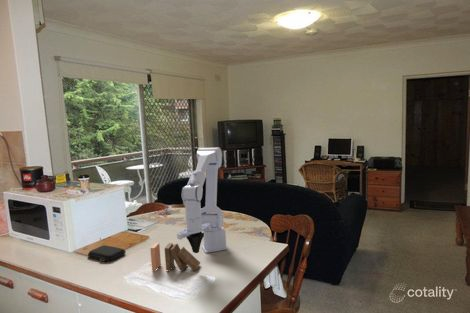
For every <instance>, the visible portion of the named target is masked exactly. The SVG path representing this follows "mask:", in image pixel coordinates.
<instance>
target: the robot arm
mask: <svg viewBox="0 0 470 313" xmlns="http://www.w3.org/2000/svg"><path fill="white" fill-rule="evenodd" d="M196 159H197V165H196V168H195V170H193V171H192V172H191V174H190V177H189V179H188V182H187V184H186V185H184V186H183V187H182V189H181V199H182V203H183V206H184V210H185V226H186V227H185V229H183V230H181V231H180V232H178V233H176V238H177V239H178V240H180V241H181V240H183V239H184V238H186V239H187V241H188V243H189V244H190V247H191V250H192V253H193V254H198V253H199V252H200V248H201V249H203V251H204V253H205V254H208V253H212V252H218V251H225V250H228V248H227V236H226V230H225V228H224V225H223V224H224V217H223V215H224V214H223V212H224V211H223V210H222V209H221V208H220V207H218V206H217V201H218V200H217V199H218V197H217V196H218V174H219V173H218V172H219V169H220V168H221V167H222V165H223V164H222V163H223V153H222V149H221V147H219V146H218V147H198V149H197V150H196ZM205 173H206V174H205ZM204 184H205V203H204V204H205V206H203V207H202V206H201V200H202V198H203V192H204V191H203V190H204V189H203V187H204ZM201 207H202V208H201ZM202 242H203V245H201V244H202Z"/></svg>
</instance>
